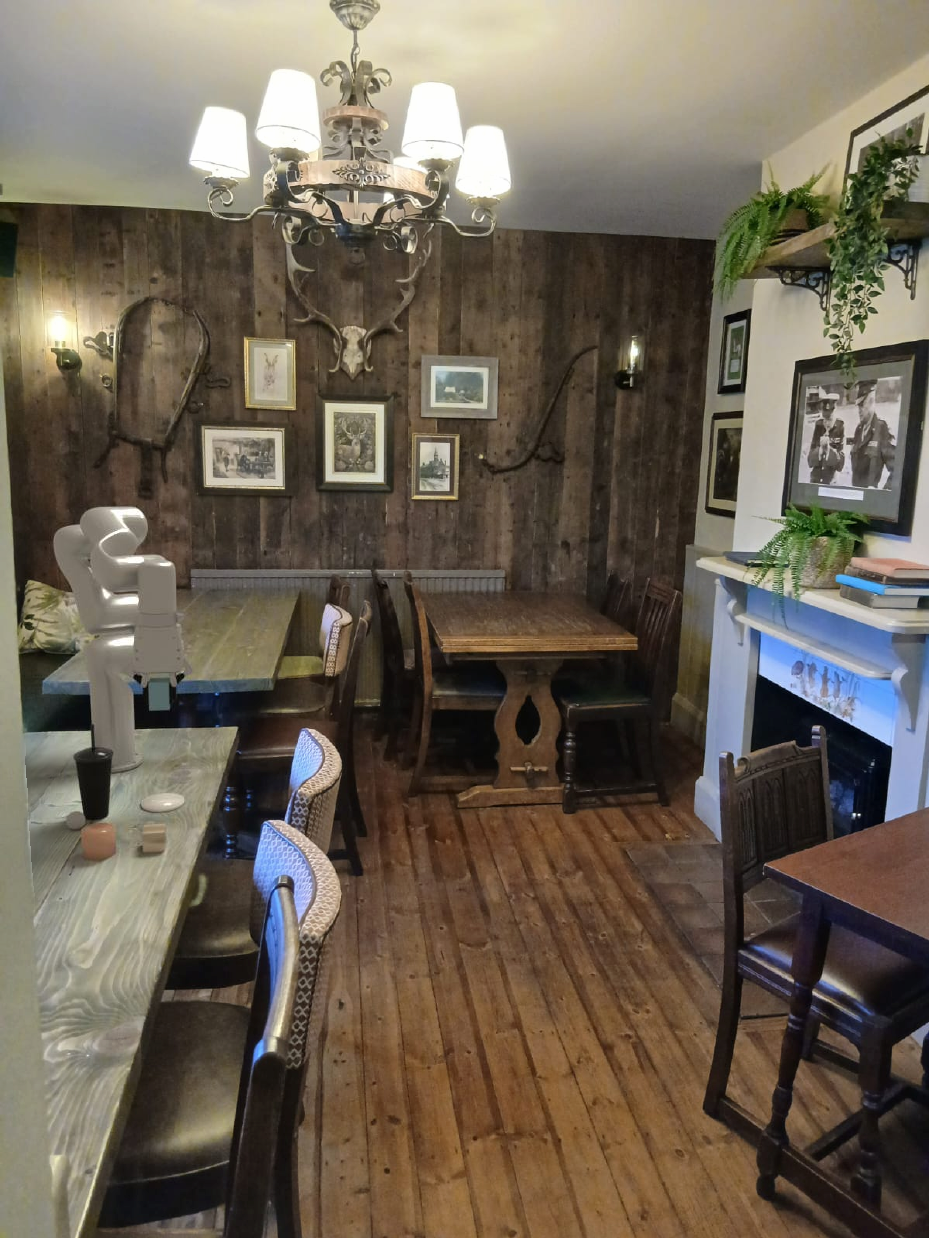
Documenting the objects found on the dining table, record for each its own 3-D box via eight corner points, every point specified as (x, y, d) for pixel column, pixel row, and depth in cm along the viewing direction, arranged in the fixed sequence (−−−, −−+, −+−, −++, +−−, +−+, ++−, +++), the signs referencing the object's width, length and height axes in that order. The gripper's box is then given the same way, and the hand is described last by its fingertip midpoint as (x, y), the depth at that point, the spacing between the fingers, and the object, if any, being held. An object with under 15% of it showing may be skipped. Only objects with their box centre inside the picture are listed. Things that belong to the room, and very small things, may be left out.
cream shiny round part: (143, 796, 195) (143, 794, 195) (185, 794, 197) (185, 791, 197) (139, 813, 186) (138, 810, 186) (183, 810, 188) (183, 808, 188)
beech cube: (144, 843, 173) (144, 824, 172) (166, 842, 174) (165, 823, 173) (142, 852, 169) (142, 833, 168) (164, 851, 170) (164, 832, 169)
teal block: (150, 704, 188) (150, 677, 187) (170, 704, 189) (169, 677, 188) (149, 710, 184) (148, 683, 183) (169, 709, 185) (168, 682, 184)
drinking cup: (101, 825, 180) (97, 732, 176) (68, 820, 181) (63, 728, 177) (123, 810, 187) (119, 720, 183) (91, 806, 189) (87, 717, 185)
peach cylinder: (84, 847, 170) (83, 823, 169) (117, 845, 172) (116, 821, 171) (79, 862, 165) (78, 837, 164) (113, 859, 166) (112, 835, 165)
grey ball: (68, 825, 179) (67, 808, 179) (87, 824, 180) (86, 807, 179) (64, 832, 176) (64, 816, 175) (84, 831, 177) (83, 814, 176)
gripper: (200, 615, 189) (201, 697, 193) (117, 616, 185) (120, 699, 188) (198, 622, 182) (200, 707, 185) (112, 623, 178) (115, 710, 181)
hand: (160, 702), depth 187 cm, fingers closed on teal block, 4 cm apart
